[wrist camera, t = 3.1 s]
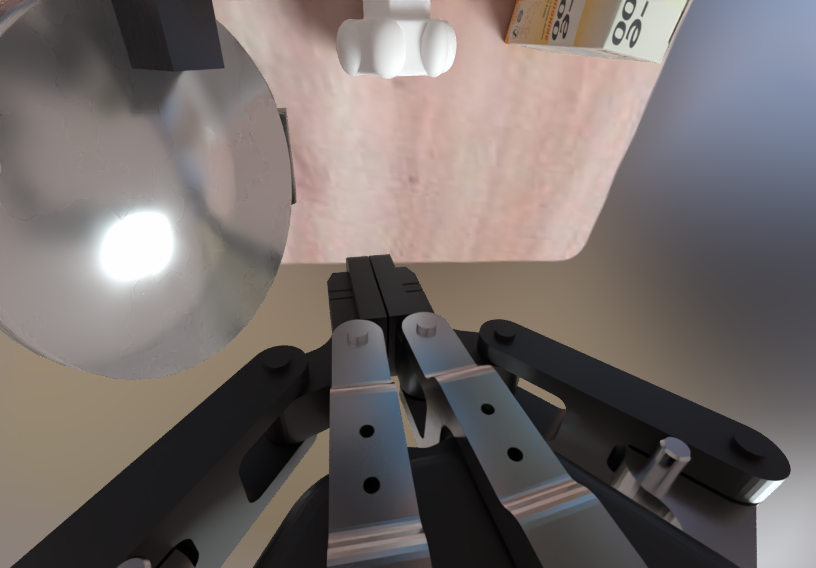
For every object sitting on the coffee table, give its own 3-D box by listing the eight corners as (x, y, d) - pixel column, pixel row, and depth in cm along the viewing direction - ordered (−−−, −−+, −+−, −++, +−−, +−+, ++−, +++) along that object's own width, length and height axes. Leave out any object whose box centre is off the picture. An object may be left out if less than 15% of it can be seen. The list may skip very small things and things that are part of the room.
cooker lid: (-1000, -1056, 3) (-906, -1284, 2) (231, -167, 15) (292, -172, 15) (80, 454, 14) (142, 475, 13) (292, 263, 26) (329, 270, 26)
